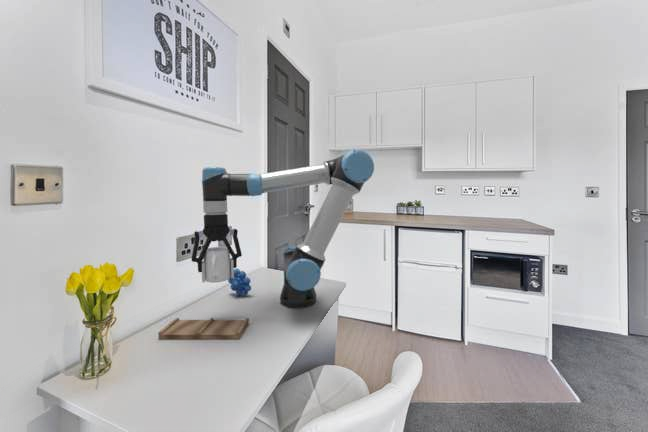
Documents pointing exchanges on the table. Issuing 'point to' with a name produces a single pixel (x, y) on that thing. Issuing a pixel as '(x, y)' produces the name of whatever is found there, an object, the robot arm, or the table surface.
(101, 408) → the table surface
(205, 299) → the table surface
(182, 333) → the ledge board
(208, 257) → the mug
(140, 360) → the table surface
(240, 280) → the grapes
